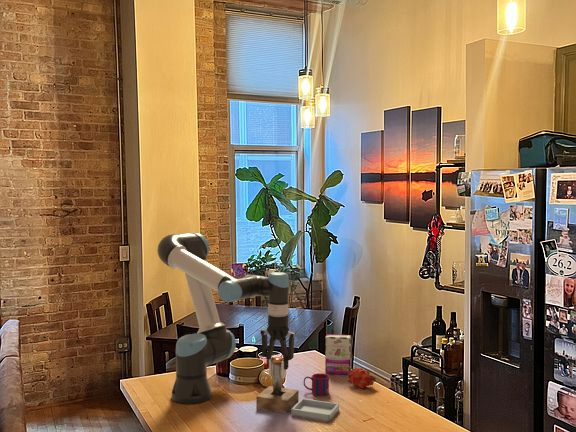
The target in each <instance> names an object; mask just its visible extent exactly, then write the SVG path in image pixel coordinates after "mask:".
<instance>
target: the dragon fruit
mask: <svg viewBox="0 0 576 432" xmlns="http://www.w3.org/2000/svg"><path fill="white" fill-rule="evenodd" d="M370 373H371V372H370V371H369V370H366V368H365V369H364V368H362V367H361V368H359V367H354V368H351V371H350V372H349V374H348V375H346V376H347V382H348V383H349V384H352V385H354V387H355V389H358V388H361V389H364V390H369V389H370V387H369V386H373V385H374V382H377V379H376V377H375V376H374V375H372V374H370Z"/></svg>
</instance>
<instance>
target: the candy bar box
mask: <svg viewBox="0 0 576 432" xmlns="http://www.w3.org/2000/svg"><path fill="white" fill-rule="evenodd" d="M324 341H325V344H324V345H325V351H324V354H325V358H324V359H325V360H324V361H325V362H324V363H325V369H324V371H325V373H324V374H327V375H341V376H342V375H345V376H347V375H348V374H349V372H350V371H351V369H352V335H351V334H350V335H348V334H326V335H325V340H324Z"/></svg>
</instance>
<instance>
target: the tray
mask: <svg viewBox="0 0 576 432" xmlns="http://www.w3.org/2000/svg"><path fill="white" fill-rule="evenodd" d="M290 411H291V414H290V415H291V417H297V418H302V419H309V420H315V421H321V422H328V423H331V421H332V420H333V418H335V416H336V415H337V414H338V412H339V411H340V404H339V403H336V402H331V401H330V402H329V401H323V400H315V399H310V398H301V399H300V400H299V402H298V403H297V404H296V405H295V406H294V407H293V408H292V409H291V410H290Z"/></svg>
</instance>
